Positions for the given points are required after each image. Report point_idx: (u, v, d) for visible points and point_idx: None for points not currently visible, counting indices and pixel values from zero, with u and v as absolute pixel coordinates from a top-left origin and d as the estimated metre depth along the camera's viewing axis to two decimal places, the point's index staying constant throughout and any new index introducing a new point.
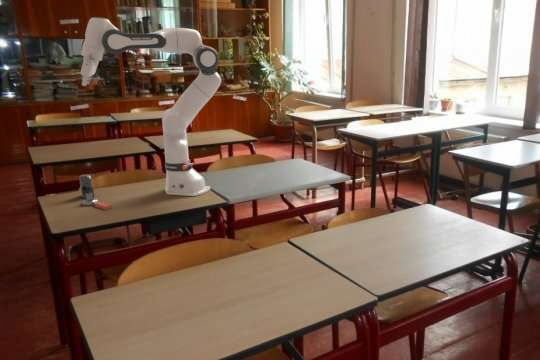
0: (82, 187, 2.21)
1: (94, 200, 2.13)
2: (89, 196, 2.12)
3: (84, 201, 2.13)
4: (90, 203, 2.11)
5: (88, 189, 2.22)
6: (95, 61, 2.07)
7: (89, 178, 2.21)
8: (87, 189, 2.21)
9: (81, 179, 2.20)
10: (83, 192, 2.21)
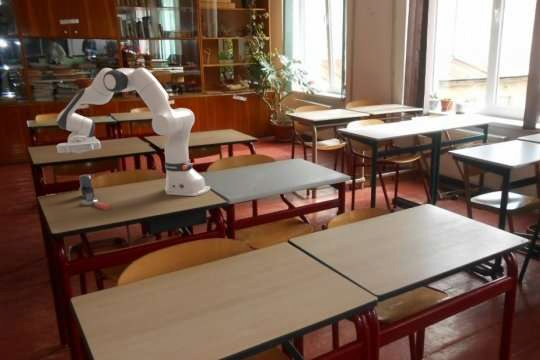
0: (82, 187, 2.21)
1: (94, 200, 2.13)
2: (89, 196, 2.12)
3: (84, 201, 2.13)
4: (90, 203, 2.11)
5: (88, 189, 2.22)
6: (73, 141, 2.38)
7: (89, 178, 2.21)
8: (87, 189, 2.21)
9: (81, 179, 2.20)
10: (83, 192, 2.21)
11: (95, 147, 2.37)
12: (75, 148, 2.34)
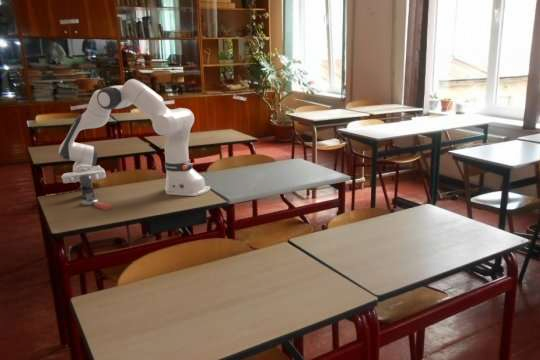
0: (82, 187, 2.21)
1: (94, 200, 2.13)
2: (89, 196, 2.12)
3: (84, 201, 2.13)
4: (90, 203, 2.11)
5: (88, 189, 2.22)
6: (78, 170, 2.39)
7: (89, 178, 2.21)
8: (87, 189, 2.21)
9: (81, 179, 2.20)
10: (83, 192, 2.21)
11: (100, 176, 2.38)
12: None
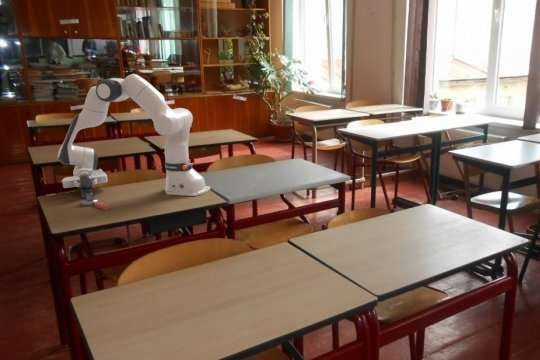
0: (82, 187, 2.21)
1: (94, 200, 2.13)
2: (89, 196, 2.12)
3: (84, 201, 2.13)
4: (90, 203, 2.11)
5: (88, 189, 2.22)
6: (79, 174, 2.31)
7: (89, 178, 2.21)
8: (87, 189, 2.21)
9: (81, 179, 2.20)
10: (83, 192, 2.21)
11: (102, 181, 2.29)
12: None
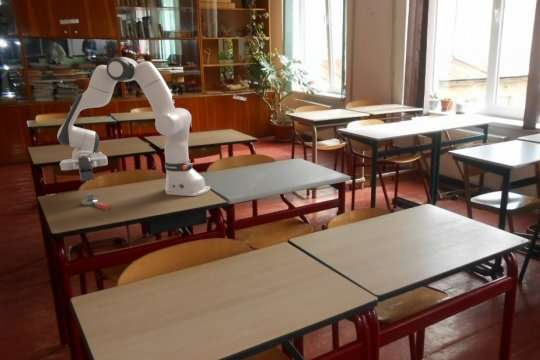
0: (81, 169, 2.10)
1: (94, 200, 2.13)
2: (89, 196, 2.12)
3: (84, 201, 2.13)
4: (90, 203, 2.11)
5: (87, 171, 2.11)
6: (77, 157, 2.20)
7: (88, 160, 2.10)
8: (86, 171, 2.10)
9: (80, 161, 2.09)
10: (82, 174, 2.10)
11: (101, 163, 2.18)
12: None
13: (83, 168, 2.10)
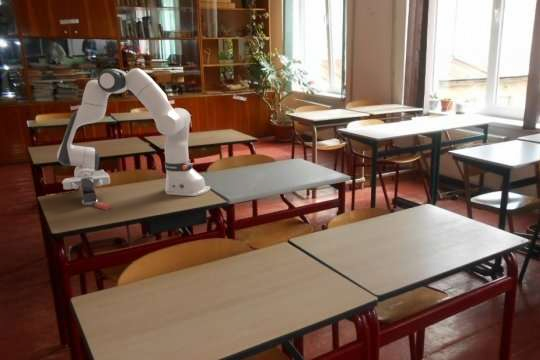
0: (84, 191, 2.10)
1: None
2: None
3: None
4: (90, 203, 2.11)
5: (90, 193, 2.11)
6: (80, 175, 2.19)
7: (91, 181, 2.10)
8: (89, 193, 2.10)
9: (83, 182, 2.09)
10: (85, 196, 2.10)
11: (104, 182, 2.18)
12: None
13: (86, 190, 2.10)
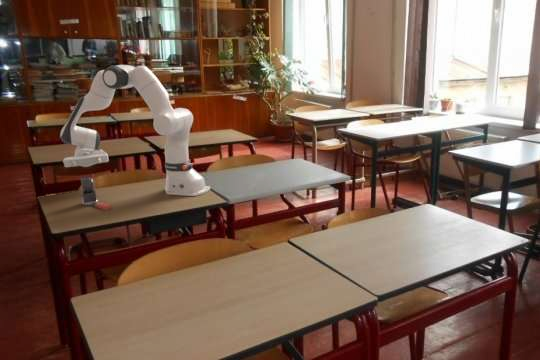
0: (84, 191, 2.10)
1: None
2: None
3: None
4: (90, 203, 2.11)
5: (90, 193, 2.11)
6: (80, 154, 2.31)
7: (91, 181, 2.10)
8: (89, 193, 2.11)
9: (83, 182, 2.09)
10: (85, 196, 2.10)
11: (103, 160, 2.30)
12: (82, 162, 2.27)
13: (86, 190, 2.10)
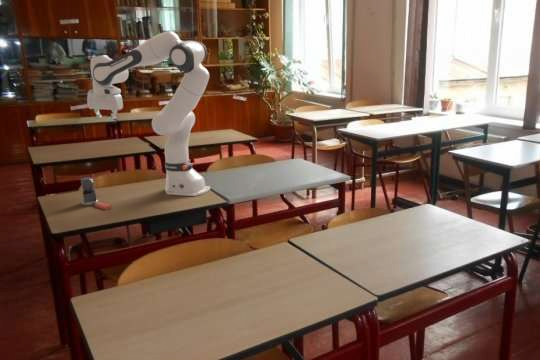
0: (84, 191, 2.10)
1: None
2: None
3: None
4: (90, 203, 2.11)
5: (90, 193, 2.11)
6: (96, 95, 2.28)
7: (91, 181, 2.10)
8: (89, 193, 2.11)
9: (83, 182, 2.09)
10: (85, 196, 2.10)
11: None
12: None
13: (86, 190, 2.10)
